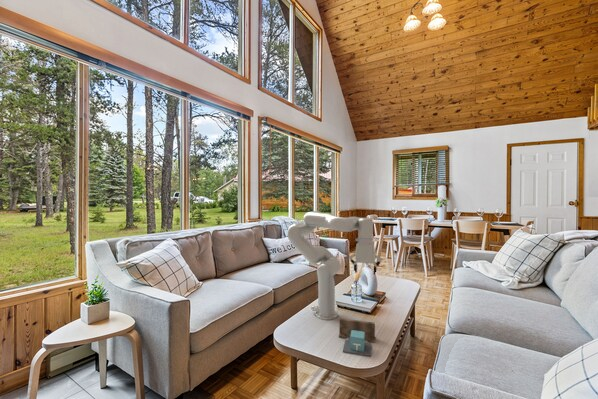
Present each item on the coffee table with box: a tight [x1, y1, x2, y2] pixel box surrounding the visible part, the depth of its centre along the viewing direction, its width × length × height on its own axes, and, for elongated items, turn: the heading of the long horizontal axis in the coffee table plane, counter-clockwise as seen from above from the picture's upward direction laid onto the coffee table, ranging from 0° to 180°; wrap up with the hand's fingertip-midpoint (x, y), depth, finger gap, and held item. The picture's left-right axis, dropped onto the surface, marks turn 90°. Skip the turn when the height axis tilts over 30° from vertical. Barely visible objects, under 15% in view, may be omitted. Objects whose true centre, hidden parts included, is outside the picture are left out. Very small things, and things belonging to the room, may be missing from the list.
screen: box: [338, 317, 376, 344], centre depth 137 cm, size 17×6×8 cm, turn 74°
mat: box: [342, 339, 372, 357], centre depth 127 cm, size 12×10×1 cm
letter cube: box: [349, 330, 366, 352], centre depth 127 cm, size 6×6×6 cm
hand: (365, 272), depth 149 cm, fingers open, 9 cm apart
